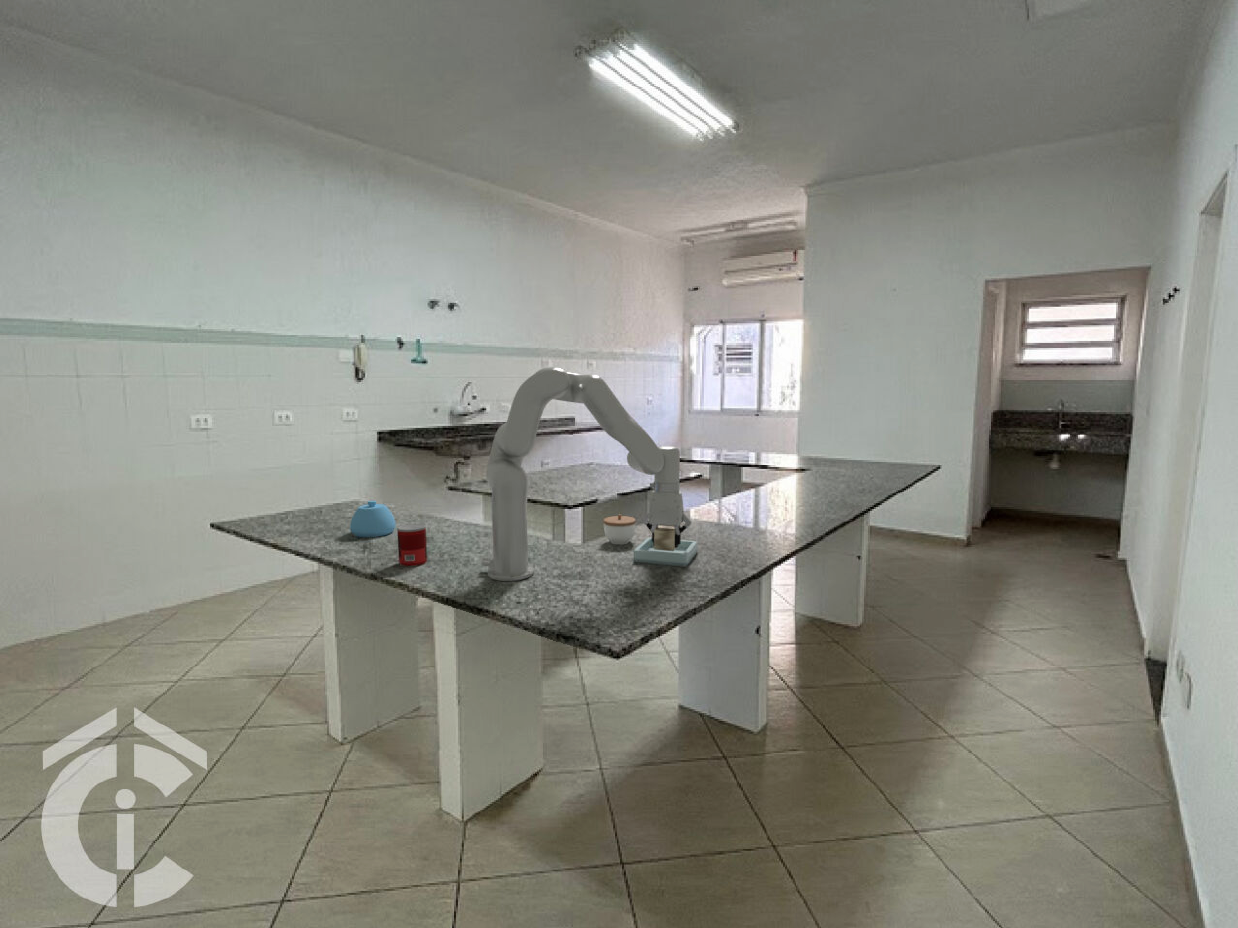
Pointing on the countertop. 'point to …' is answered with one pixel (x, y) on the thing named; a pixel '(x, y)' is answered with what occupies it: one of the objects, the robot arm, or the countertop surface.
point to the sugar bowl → (372, 520)
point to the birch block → (664, 538)
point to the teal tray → (666, 553)
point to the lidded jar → (619, 529)
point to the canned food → (412, 544)
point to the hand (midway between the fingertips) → (666, 545)
